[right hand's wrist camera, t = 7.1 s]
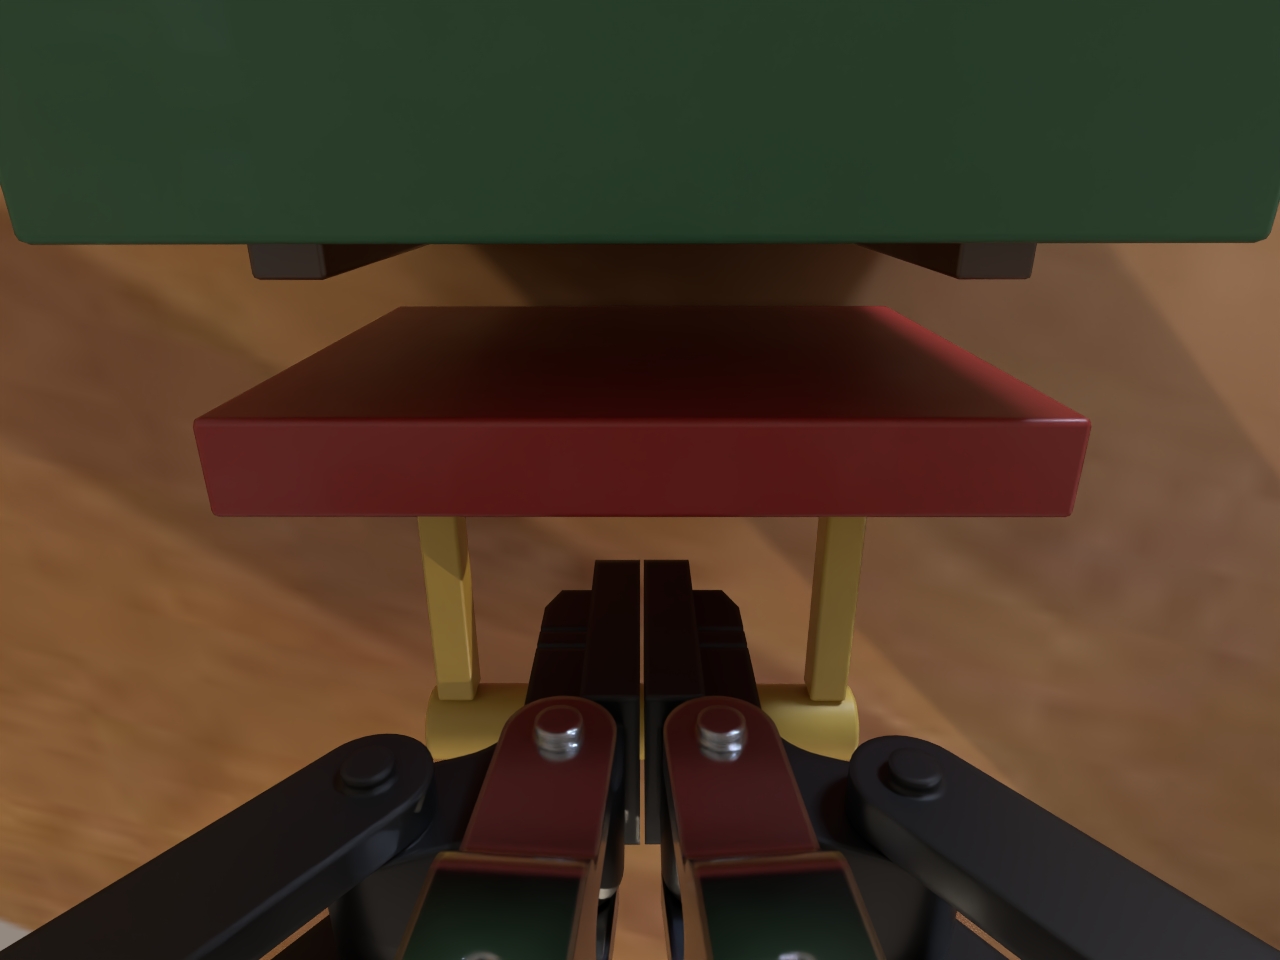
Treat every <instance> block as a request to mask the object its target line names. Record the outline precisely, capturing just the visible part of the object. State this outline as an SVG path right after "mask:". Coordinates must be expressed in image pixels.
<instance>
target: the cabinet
mask: <svg viewBox="0 0 1280 960" xmlns="http://www.w3.org/2000/svg"><path fill="white" fill-rule="evenodd" d="M0 184H1V188H2V191H3V195H4V198H5V202H6V205H7V209H8V212H9V216H10V219H11V223H12V226H13V230H14V233H15V235H16V237H17V238H18V240H19V241H22V242H25V243H28V244H31V245H119V244H782V243H1255V242H1258V241H1261V240H1264V239H1266V238H1267V237H1268V235H1269V234H1270V232H1271V229H1272V226H1273V222H1274V219H1275V215H1276V212H1277V208H1278V204H1279V201H1280V0H0Z"/></svg>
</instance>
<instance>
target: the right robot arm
mask: <svg viewBox="0 0 1280 960" xmlns="http://www.w3.org/2000/svg"><path fill="white" fill-rule="evenodd" d="M644 778H645V844H661V906H662V915H663V924H664V932H665V941H666V950H667V959H668V960H1009V959H1008V958H1006V957H1005V956H1004V955H1003V954H1001V953H1000V952H999V951H997V950H996V949H995V948H993V947H992V946H991V945H990V944H988V943H987V942H986V941H984V940H983V939H982V938H981V937H979V936H978V935H977V934H975V933H974V932H973V931H971V930H970V929H969V928H968V927H966V926H965V925H964V924H962V923H961V922H960V921H959V920H957V919H956V913H957V911H958V912H960V913H961V914H962V915H963V916H965V917H966V918H967V919H969V920H970V921H971V922H973V923H974V924H975V925H977V926H978V927H979V928H981V929H982V930H983V931H984V932H986V933H987V934H988V935H990V936H991V937H992V938H994V939H995V940H996V941H998V942H999V943H1000V944H1001V945H1003V946H1004V947H1005V948H1007V949H1008V950H1009V951H1011V952H1012V953H1013V954H1015V955H1016V956H1017V957H1018V958H1020V959H1021V960H1280V951H1278V950H1277V949H1275V948H1273V947H1272V946H1270V945H1268V944H1267V943H1265V942H1264V941H1262V940H1260V939H1259V938H1257V937H1255V936H1254V935H1252V934H1250V933H1249V932H1247V931H1245V930H1244V929H1242V928H1240V927H1239V926H1237V925H1235V924H1234V923H1232V922H1230V921H1229V920H1227V919H1225V918H1224V917H1222V916H1221V915H1219V914H1217V913H1216V912H1214V911H1212V910H1211V909H1209V908H1207V907H1206V906H1204V905H1202V904H1201V903H1199V902H1197V901H1196V900H1194V899H1192V898H1191V897H1189V896H1187V895H1186V894H1184V893H1182V892H1181V891H1179V890H1178V889H1176V888H1174V887H1173V886H1171V885H1169V884H1168V883H1166V882H1164V881H1163V880H1161V879H1159V878H1158V877H1156V876H1154V875H1153V874H1151V873H1149V872H1148V871H1146V870H1144V869H1143V868H1141V867H1139V866H1138V865H1136V864H1135V863H1133V862H1131V861H1130V860H1128V859H1126V858H1125V857H1123V856H1121V855H1120V854H1118V853H1116V852H1115V851H1113V850H1111V849H1110V848H1108V847H1106V846H1105V845H1103V844H1101V843H1100V842H1098V841H1096V840H1095V839H1093V838H1092V837H1090V836H1088V835H1087V834H1085V833H1083V832H1082V831H1080V830H1078V829H1077V828H1075V827H1073V826H1072V825H1070V824H1068V823H1067V822H1065V821H1063V820H1062V819H1060V818H1058V817H1057V816H1055V815H1053V814H1052V813H1050V812H1049V811H1047V810H1045V809H1044V808H1042V807H1040V806H1039V805H1037V804H1035V803H1034V802H1032V801H1030V800H1029V799H1027V798H1025V797H1024V796H1022V795H1020V794H1019V793H1017V792H1015V791H1014V790H1012V789H1010V788H1009V787H1007V786H1006V785H1004V784H1002V783H1001V782H999V781H997V780H996V779H994V778H992V777H991V776H989V775H987V774H986V773H984V772H982V771H981V770H979V769H977V768H976V767H974V766H972V765H971V764H969V763H967V762H966V761H964V760H963V759H961V758H959V757H958V756H956V755H954V754H953V753H951V752H949V751H948V750H946V749H944V748H942V747H940V746H938V745H936V744H933V743H931V742H928V741H925V740H922V739H918V738H913V737H908V736H897V735H895V736H882V737H877V738H874V739H871V740H868V741H866V742H865V743H863V744H861V745H860V746H859V747H858V748H857V749H856V750H855V751H854V753H853V754H852V756H851V759H850V762H848V761H844V760H840V759H835V758H831V757H827V756H823V755H819V754H815V753H812V752H809V751H806V750H804V749H801V748H799V747H797V746H795V745H793V744H791V743H789V742H788V741H786V740H785V739H783V738H782V737H781V736H780V734H779V731H778V729H777V727H776V725H775V723H774V721H773V720H772V719H771V717H770V716H769V715H768V714H766V713H765V712H764V711H763V710H762V708H761V704H760V699H759V695H758V690H757V686H756V682H755V677H754V673H753V668H752V664H751V659H750V655H749V650H748V648H747V642H746V637H745V633H744V631H743V624H742V619H741V615H740V611H739V607H738V606H737V605H736V604H735V603H734V602H733V601H732V600H731V599H730V598H729V597H728V596H727V595H726V594H725V593H724V592H723V591H722V590H692V583H691V575H690V567H689V561H688V560H644ZM624 845H640V560H595V567H594V576H593V585H592V590H562V591H561V592H560V593H559V594H558V595H557V596H556V597H555V598H554V599H553V600H552V601H551V602H550V603H549V604H548V605H547V606H546V607H545V611H544V616H543V620H542V625H541V632H540V634H539V639H538V644H537V648H536V653H535V657H534V662H533V667H532V671H531V676H530V681H529V685H528V690H527V694H526V699H525V704H524V706H523V707H521V708H520V709H519V710H517V711H516V712H515V713H514V714H512V715H511V716H510V717H509V719H508V720H507V721H506V723H505V725H504V727H503V729H502V731H501V734H500V737H499V740H498V742H497V743H495V744H493V745H491V746H489V747H487V748H485V749H482V750H480V751H478V752H475V753H471V754H468V755H464V756H460V757H456V758H451V759H447V760H443V761H439V762H435V763H433V758H432V755H431V753H430V751H429V750H428V748H427V747H426V746H425V745H424V744H422V743H421V742H420V741H418V740H416V739H414V738H411V737H408V736H405V735H399V734H377V735H371V736H366V737H362V738H359V739H355V740H353V741H350V742H348V743H345V744H343V745H341V746H340V747H338V748H336V749H334V750H332V751H331V752H329V753H327V754H326V755H324V756H322V757H321V758H319V759H318V760H316V761H314V762H313V763H311V764H309V765H308V766H306V767H304V768H303V769H301V770H299V771H298V772H296V773H294V774H293V775H291V776H289V777H288V778H286V779H284V780H283V781H281V782H279V783H278V784H276V785H275V786H273V787H271V788H270V789H268V790H266V791H265V792H263V793H261V794H260V795H258V796H256V797H255V798H253V799H251V800H250V801H248V802H246V803H245V804H243V805H241V806H240V807H238V808H236V809H235V810H233V811H232V812H230V813H228V814H227V815H225V816H223V817H222V818H220V819H218V820H217V821H215V822H213V823H212V824H210V825H208V826H207V827H205V828H203V829H202V830H200V831H198V832H197V833H195V834H193V835H192V836H190V837H189V838H187V839H185V840H184V841H182V842H180V843H179V844H177V845H175V846H174V847H172V848H170V849H169V850H167V851H165V852H164V853H162V854H160V855H159V856H157V857H155V858H154V859H152V860H150V861H149V862H147V863H146V864H144V865H142V866H141V867H139V868H137V869H136V870H134V871H132V872H131V873H129V874H127V875H126V876H124V877H122V878H121V879H119V880H117V881H116V882H114V883H112V884H111V885H109V886H107V887H106V888H104V889H103V890H101V891H99V892H98V893H96V894H94V895H93V896H91V897H89V898H88V899H86V900H84V901H83V902H81V903H79V904H78V905H76V906H74V907H73V908H71V909H69V910H68V911H66V912H64V913H63V914H61V915H60V916H58V917H56V918H55V919H53V920H51V921H50V922H48V923H46V924H45V925H43V926H41V927H40V928H38V929H36V930H35V931H33V932H31V933H30V934H28V935H26V936H25V937H23V938H22V939H20V940H18V941H17V942H15V943H13V944H12V945H10V946H8V947H7V948H5V949H3V950H2V951H0V960H259V959H260V958H262V957H263V956H264V955H265V954H267V953H268V952H269V951H271V950H272V949H273V948H275V947H276V946H277V945H279V944H280V943H281V942H282V941H284V940H285V939H286V938H288V937H289V936H290V935H292V934H293V933H294V932H296V931H297V930H298V929H300V928H301V927H302V926H303V925H305V924H306V923H307V922H309V921H310V920H311V919H313V918H314V917H315V916H317V915H318V914H319V913H320V912H322V911H323V910H324V909H326V908H327V907H328V909H329V915H328V916H327V917H325V918H324V919H323V920H322V921H320V922H319V923H318V924H316V925H315V926H314V927H312V928H311V929H310V930H309V931H307V932H306V933H305V934H303V935H302V936H301V937H299V938H298V939H297V940H296V941H294V942H293V943H292V944H290V945H289V946H288V947H287V948H285V949H284V950H283V951H281V952H280V953H279V954H277V955H276V956H275V957H274V958H272V959H271V960H612V959H613V950H614V941H615V932H616V924H617V915H618V906H619V885H620V883H621V880H622V877H623V871H624Z"/></svg>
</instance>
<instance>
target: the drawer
mask: <svg viewBox="0 0 1280 960" xmlns="http://www.w3.org/2000/svg"><path fill="white" fill-rule="evenodd" d="M854 244H857V245H859V246H862V247H865V248H868V249H871V250H874V251H877V252H880V253H883V254H886V255H889V256H892V257H895V258H898V259H901V260H904V261H907V262H909V263H912V264H915V265H918V266H921V267H924V268H927V269H930V270H933V271H936V272H939V273H942V274H945V275H948V276H951V277H954V278H957V279H1027V278H1030V276H1031V273H1032V267H1033V262H1034V256H1035V250H1036V245H1037V243H854ZM426 245H429V244H247V246H248V252H249V257H250V263H251V268H252V274H253V276H254V278H257V279H259V280H324V279H327V278H330V277H333V276H336V275H339V274H342V273H345V272H348V271H351V270H354V269H357V268H360V267H363V266H366V265H369V264H372V263H375V262H378V261H381V260H384V259H387V258H390V257H393V256H396V255H399V254H402V253H405V252H408V251H411V250H414V249H417V248H420V247H423V246H426ZM193 429H194V434H195V438H196V443H197V447H198V452H199V456H200V461H201V465H202V470H203V474H204V478H205V483H206V487H207V492H208V496H209V501H210V505H211V510H212V512H213V514H214V515H216V516H273V517H417V520H418V529H419V537H420V545H421V554H422V562H423V571H424V579H425V588H426V596H427V605H428V613H429V622H430V630H431V639H432V647H433V656H434V664H435V673H436V681H437V685H436V686H435V687H434V689H433V691H432V693H431V696H430V699H429V703H428V707H427V713H426V723H425V738H426V745H427V748H428V750H429V751H430V753H431V755H432V758H434V759H451V758H456V757H460V756H464V755H468V754H471V753H475V752H478V751H480V750H482V749H485V748H487V747H489V746H491V745H493V744H495V743H497V742H498V740H499V737H500V734H501V731H502V729H503V727H504V725H505V723H506V721H507V720H508V719H509V717H510V716H511V715H512V714H514V713H515V712H516V711H517V710H519V709H520V708H521V707H523V706H524V704H525V699H526V694H527V690H528V685H529V683H479V682H480V669H479V658H478V648H477V637H476V626H475V615H474V605H473V594H472V583H471V572H470V562H469V551H468V540H467V529H466V519H465V517H819V521H818V532H817V543H816V554H815V565H814V576H813V587H812V598H811V609H810V620H809V631H808V642H807V653H806V664H805V675H804V681H805V684H756V686H757V690H758V695H759V699H760V704H761V708H762V710H763V711H764V712H765V713H766V714H768V715H769V716H770V717H771V719H772V720H773V721H774V723H775V725H776V727H777V729H778V731H779V734H780V736H781V737H782V738H783V739H785V740H786V741H788V742H789V743H791V744H793V745H795V746H797V747H799V748H801V749H804V750H806V751H809V752H812V753H815V754H819V755H823V756H827V757H831V758H835V759H840V760H850V759H851V756H852V754H853V753H854V751H855V750H856V749H857V748H858V743H859V719H858V711H857V706H856V701H855V698H854V695H853V693H852V691H851V689H850V687H849V686H847V683H848V674H849V665H850V657H851V648H852V640H853V631H854V622H855V614H856V605H857V596H858V588H859V579H860V570H861V562H862V553H863V545H864V536H865V527H866V519H867V517H1067V516H1070V515H1071V513H1072V511H1073V507H1074V503H1075V498H1076V494H1077V489H1078V485H1079V480H1080V476H1081V471H1082V467H1083V462H1084V458H1085V453H1086V449H1087V444H1088V440H1089V435H1090V431H1091V422H1090V420H1089V419H1088V418H1086V417H1084V416H1083V415H1081V414H1079V413H1077V412H1075V411H1074V410H1072V409H1070V408H1068V407H1066V406H1065V405H1063V404H1061V403H1059V402H1057V401H1056V400H1054V399H1052V398H1050V397H1048V396H1047V395H1045V394H1043V393H1041V392H1039V391H1038V390H1036V389H1034V388H1032V387H1030V386H1029V385H1027V384H1025V383H1023V382H1021V381H1020V380H1018V379H1016V378H1014V377H1012V376H1011V375H1009V374H1007V373H1005V372H1003V371H1002V370H1000V369H998V368H996V367H994V366H993V365H991V364H989V363H987V362H985V361H983V360H982V359H980V358H978V357H976V356H974V355H973V354H971V353H969V352H967V351H965V350H964V349H962V348H960V347H958V346H956V345H955V344H953V343H951V342H949V341H947V340H946V339H944V338H942V337H940V336H938V335H937V334H935V333H933V332H931V331H929V330H928V329H926V328H924V327H922V326H920V325H919V324H917V323H915V322H913V321H911V320H910V319H908V318H906V317H904V316H902V315H901V314H899V313H897V312H895V311H893V310H892V309H890V308H888V307H886V306H569V307H399V308H397V309H395V310H393V311H392V312H390V313H388V314H386V315H384V316H382V317H381V318H379V319H377V320H375V321H373V322H371V323H370V324H368V325H366V326H364V327H362V328H361V329H359V330H357V331H355V332H353V333H351V334H350V335H348V336H346V337H344V338H342V339H340V340H339V341H337V342H335V343H333V344H331V345H330V346H328V347H326V348H324V349H322V350H320V351H319V352H317V353H315V354H313V355H311V356H310V357H308V358H306V359H304V360H302V361H300V362H299V363H297V364H295V365H293V366H291V367H289V368H288V369H286V370H284V371H282V372H280V373H279V374H277V375H275V376H273V377H271V378H269V379H268V380H266V381H264V382H262V383H260V384H259V385H257V386H255V387H253V388H251V389H249V390H248V391H246V392H244V393H242V394H240V395H238V396H237V397H235V398H233V399H231V400H229V401H228V402H226V403H224V404H222V405H220V406H218V407H217V408H215V409H213V410H211V411H209V412H207V413H206V414H204V415H202V416H200V417H198V418H197V419H195V420H194V424H193ZM640 760H644V684H640Z"/></svg>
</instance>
